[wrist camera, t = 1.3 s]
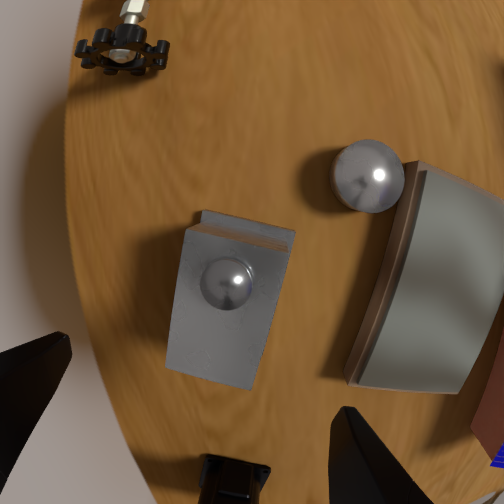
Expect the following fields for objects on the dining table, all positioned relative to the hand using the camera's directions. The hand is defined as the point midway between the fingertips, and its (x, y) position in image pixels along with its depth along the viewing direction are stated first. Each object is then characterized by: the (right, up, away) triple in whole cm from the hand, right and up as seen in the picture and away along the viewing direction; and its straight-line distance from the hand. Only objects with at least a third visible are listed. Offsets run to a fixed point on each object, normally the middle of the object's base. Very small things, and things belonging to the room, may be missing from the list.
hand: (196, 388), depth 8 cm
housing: (+1, +2, +13) cm, 13 cm away
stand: (+16, +1, +11) cm, 19 cm away
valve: (-6, +23, +9) cm, 25 cm away
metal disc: (+9, +9, +11) cm, 16 cm away
